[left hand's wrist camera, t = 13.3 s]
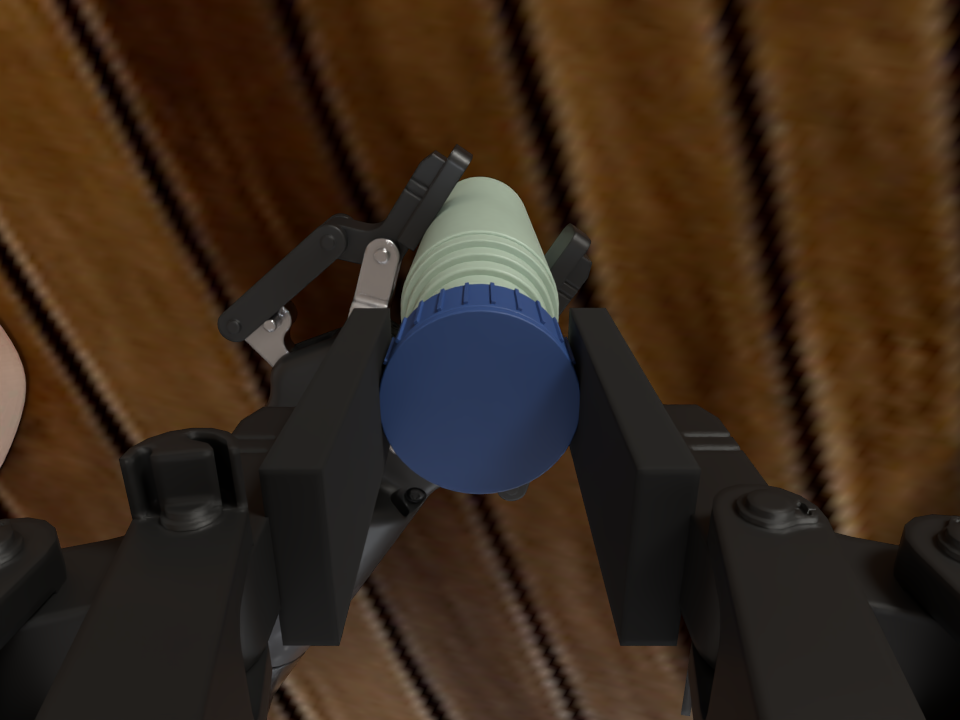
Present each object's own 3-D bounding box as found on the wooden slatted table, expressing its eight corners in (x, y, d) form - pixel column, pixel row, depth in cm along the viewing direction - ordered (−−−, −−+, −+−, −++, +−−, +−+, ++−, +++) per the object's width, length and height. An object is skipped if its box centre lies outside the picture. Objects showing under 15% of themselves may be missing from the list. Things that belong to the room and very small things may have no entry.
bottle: (440, 168, 29) (384, 269, 12) (537, 187, 30) (617, 313, 12) (424, 264, 31) (354, 475, 14) (516, 281, 31) (562, 509, 14)
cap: (363, 307, 14) (346, 338, 12) (548, 258, 13) (558, 283, 12) (418, 467, 15) (411, 515, 14) (588, 427, 15) (602, 471, 13)
